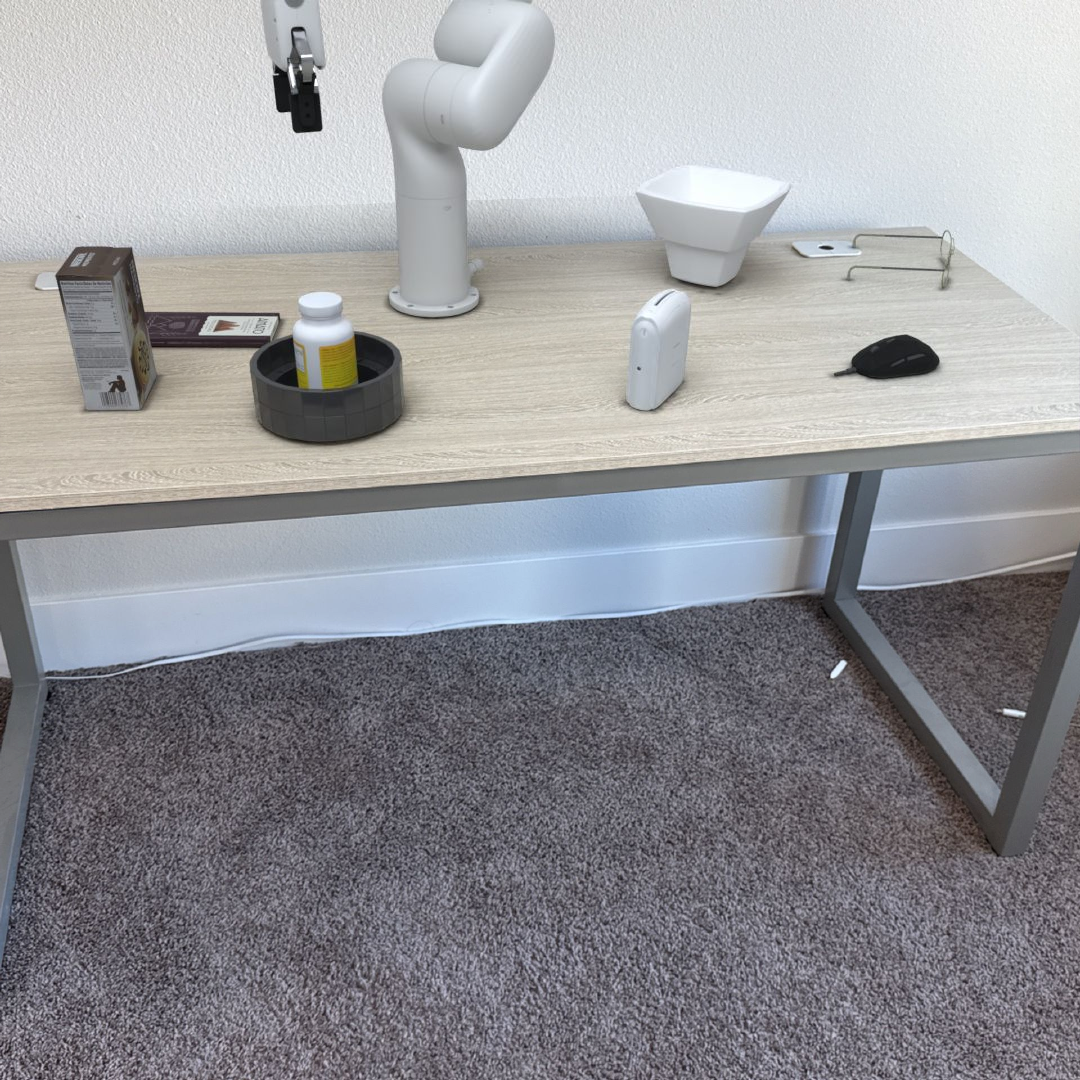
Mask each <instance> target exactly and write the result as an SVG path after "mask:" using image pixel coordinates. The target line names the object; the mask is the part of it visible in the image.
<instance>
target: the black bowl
mask: <svg viewBox="0 0 1080 1080" xmlns="http://www.w3.org/2000/svg"><path fill="white" fill-rule="evenodd" d="M354 339H355V351H356V363H357V375H358V384H356V385H351V386H346V387H341V388H330V389H305V388H299V385H298V376H297V367H296V358H295V350H294V341H293V333H292V334H289V335H285V336H282V337H279V338H276V339H273V340H272V341H271V342H270V343H267V344H265V345H264V346H262V347H259V349H257V350H255V352H254V353H253V354H252V356H251V358H250V360H249V372H250V381H251V387H252V396H253V402H254V403H253V404H254V408H255V409H254V411H255V417H256V419H257V421H259V423H260V425H261V426H263V427H264V428H266V429H267V430H269V431H270V432H272V433H273V434H276V435H279V436H282V437H285V438H288V439H293V440H294V439H295V440H299V441H304V442H305V441H306V442H324V443H325V442H334V441H337V442H338V441H346V440H351V439H357V438H360V437H365V436H368V435H371V434H374V433H376V432H379V431H381V430H383V429H386V428H387V427H388V426H389V425H391V424H393V423H394V422H395V421H396V420H397V419H398V418H399V417H400V416H401V414H402V413H403V410H404V406H405V391H404V390H405V389H404V373H403V356H402V353H401V351H400V348H398V347H397V346H396V345H395V344H394V343H393V342H391V341H390V340H387V339H386V338H384V337H382V336H379V335H377V334H376V335H375V334H372V333H368V332H364V331H357V330H354Z"/></svg>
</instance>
